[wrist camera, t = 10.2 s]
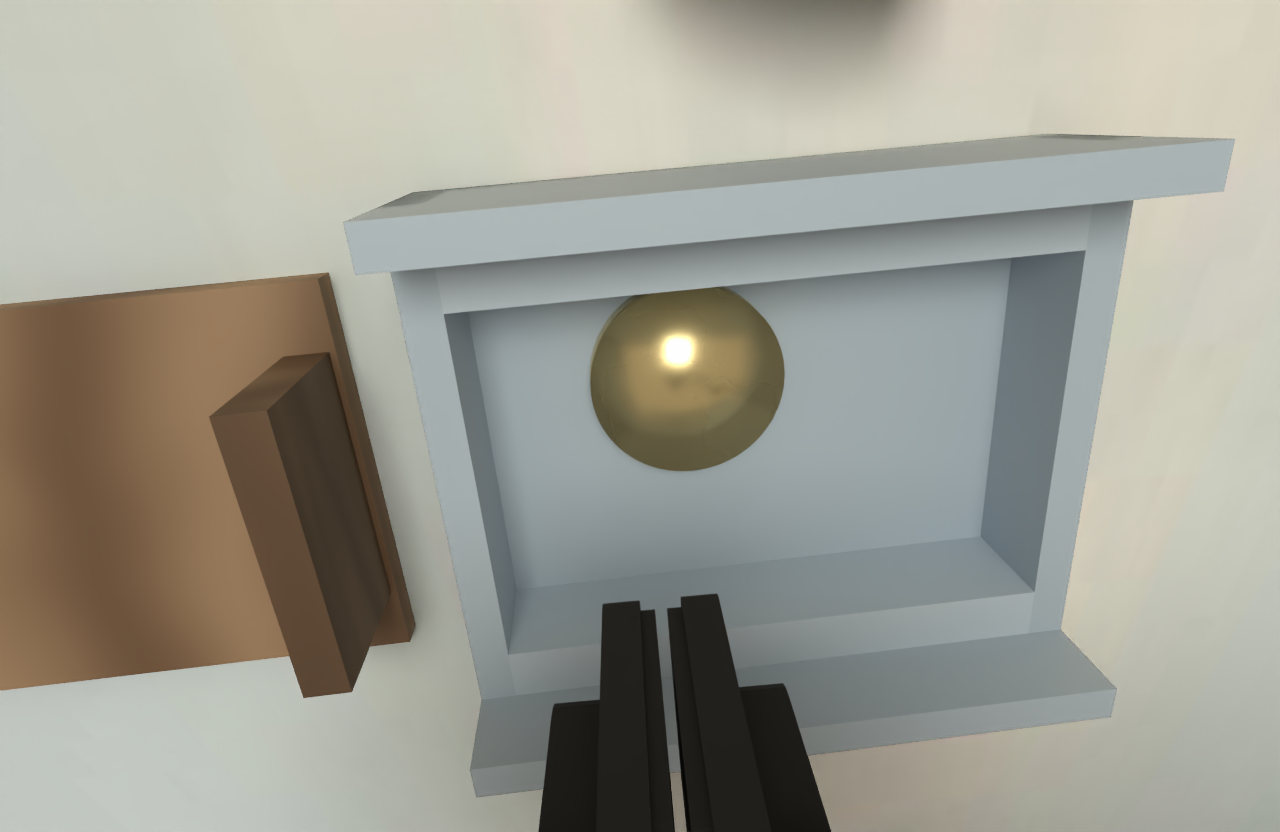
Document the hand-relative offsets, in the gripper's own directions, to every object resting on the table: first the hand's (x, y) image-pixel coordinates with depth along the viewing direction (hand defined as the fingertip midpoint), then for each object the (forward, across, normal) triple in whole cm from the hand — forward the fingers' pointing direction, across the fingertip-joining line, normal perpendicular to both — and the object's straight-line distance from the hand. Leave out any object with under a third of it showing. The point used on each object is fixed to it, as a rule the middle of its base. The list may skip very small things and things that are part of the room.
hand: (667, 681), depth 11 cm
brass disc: (+8, -1, -2) cm, 8 cm away
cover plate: (+8, +13, 0) cm, 15 cm away
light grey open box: (+8, -2, -1) cm, 9 cm away
